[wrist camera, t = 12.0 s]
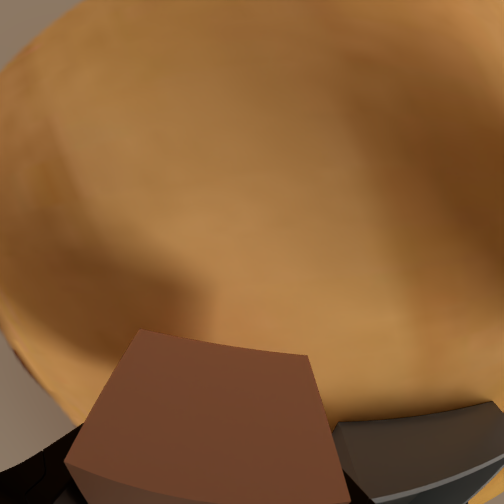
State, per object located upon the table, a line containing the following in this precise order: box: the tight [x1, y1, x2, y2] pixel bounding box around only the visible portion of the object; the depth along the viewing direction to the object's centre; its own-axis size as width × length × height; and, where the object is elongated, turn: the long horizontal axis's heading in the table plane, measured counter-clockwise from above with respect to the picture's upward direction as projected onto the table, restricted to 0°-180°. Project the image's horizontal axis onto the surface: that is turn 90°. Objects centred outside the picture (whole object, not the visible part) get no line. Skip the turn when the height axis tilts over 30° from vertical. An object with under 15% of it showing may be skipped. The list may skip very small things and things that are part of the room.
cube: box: [64, 329, 351, 504], centre depth 6 cm, size 5×5×5 cm
